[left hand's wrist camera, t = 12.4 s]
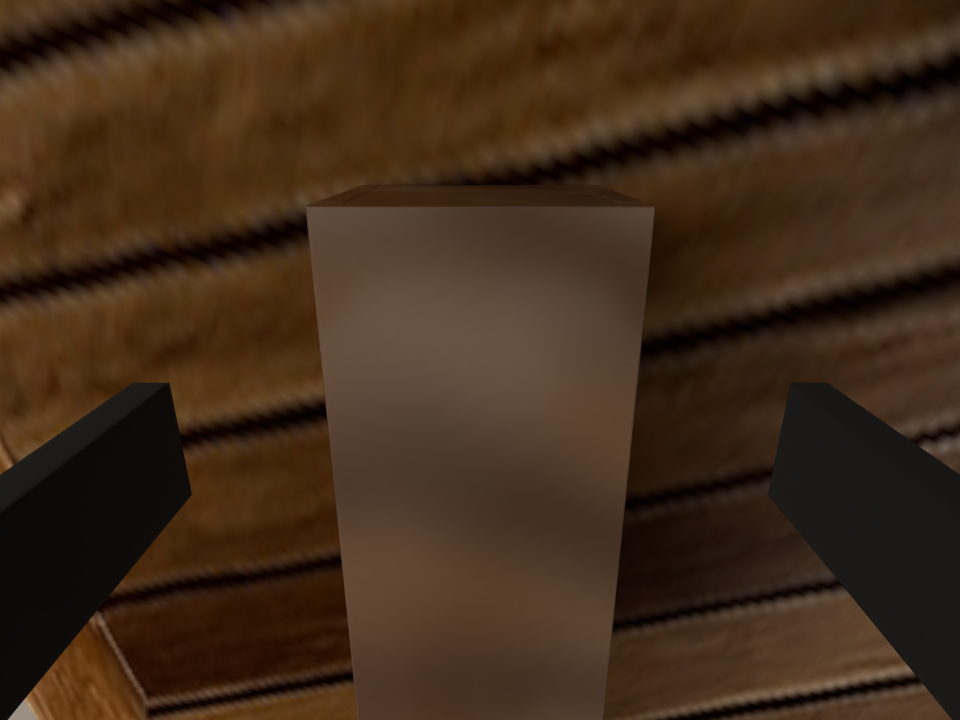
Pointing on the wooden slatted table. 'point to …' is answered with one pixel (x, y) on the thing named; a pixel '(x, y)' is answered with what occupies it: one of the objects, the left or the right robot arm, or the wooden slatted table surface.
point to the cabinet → (480, 438)
